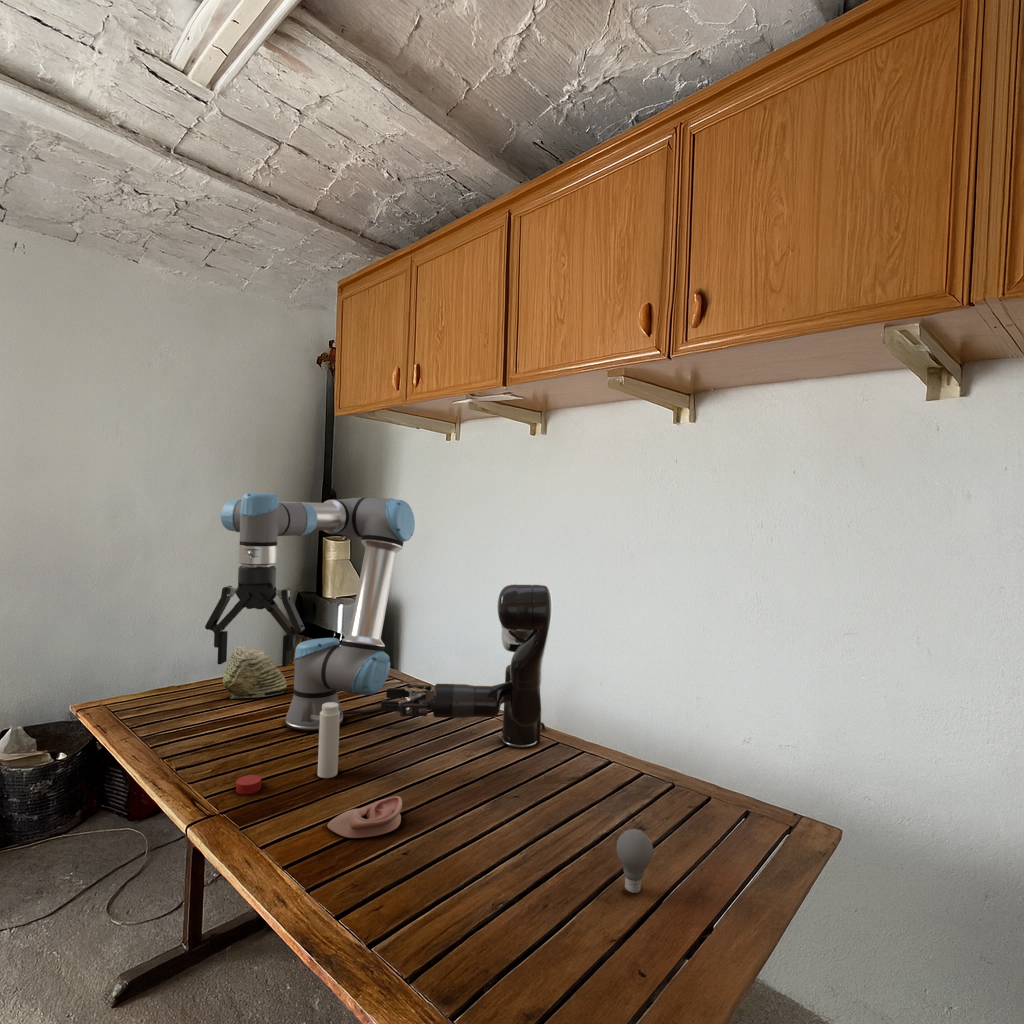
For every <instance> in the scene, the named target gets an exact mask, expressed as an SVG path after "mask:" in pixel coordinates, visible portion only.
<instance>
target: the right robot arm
mask: <svg viewBox="0 0 1024 1024" xmlns="http://www.w3.org/2000/svg"><path fill="white" fill-rule="evenodd" d="M553 609H554V608H553V596H552V591H551V589H550V588H549V587H548V586H547V585H544V584H517V583H516V584H508V585H505V586H504V587H503V588H502V589H501V591H500V592H499V594H498V597H497V615H498V621H499V623H500V625H501V644H502V646H503V649H505V651H507V652H510V653H513V655H512V657H511V660H510V663H509V664H508V665H507V666H506V667H505V671H504V682H501V683H498V684H494V685H472V684H465V683H436V684H435V685H434V690H432V685H431V684H429V685H427V684H425V685H424V684H407V685H406V686H403V687H388V688H387V689H386V699H403V700H382V701H381V703H380V707H381V710H380V711H381V712H398V714H399V716H400V717H428V712H429V711H433V712H432V716H433V717H434V718H442V719H443V718H445V719H446V718H447V719H465V718H466V719H467V718H468V719H469V718H495V717H497V716H498V715H499V713H500V711H501V706H502V704H503V716H502V717H503V719H502V723H503V724H502V727H501V730H500V731H501V734H502V737H501V743H503V744H504V745H506V746H507V747H511V748H515V749H527V748H531V747H534V746H537V744H540V743H541V730H543V731H545V730H546V725H545V723H544V722H543V721H542V697H541V686H542V680H543V679H542V678H543V664H544V663H543V662H544V655H545V652H546V648H547V644H548V640H549V637H550V636H549V635H550V630H551V626H552V619H553Z"/></svg>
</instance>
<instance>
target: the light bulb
mask: <svg viewBox="0 0 1024 1024" xmlns="http://www.w3.org/2000/svg"><path fill="white" fill-rule="evenodd" d="M615 849H616V854H617V857H618V859H619V861H620V863H621V865H622V867H623V873H624V874H623V875H624V876H625V878H624V888H625V890H627V891H628V892H630V893H634V894H635V893H639V892H640V891H641V889H642V887H641V886H642V879H643V877H644V875H645V871H646V868H647V867H648V866H649V864H650V863H651V861H652V859H653V855H654V847H653V843H652V841H651V838H649V836H648V835H647V834H646V833H645V832H643V831H642V830H641V829H636V828H629V829H627V830H625V831H623V832H622V833H621V834H620V835H619V837H618V839H617V841H616V847H615Z"/></svg>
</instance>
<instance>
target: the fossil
mask: <svg viewBox="0 0 1024 1024" xmlns="http://www.w3.org/2000/svg"><path fill="white" fill-rule="evenodd" d="M226 662H227V663H226V666H225V668H224V671H223V675H222V676H223V677H222V685H223V687H224V688H225V690H226V691H228V693H229V698H230V699H250V698H264V697H271V696H275V695H281V694H284V693H285V691H286V689H287V687H288V686H287V680H286V678H285V676H284V674H283V673H282V672H281V669H279V668H278V667H277V665H276V663H275V662H274V660H273V659H272V658H271V657H270V656H269V655H268V654H267V653H266V652H265V650H264V649H263V648H260V647H258V648H251V647H247V646H246V647H245V646H238V647H237V648H236V649H235V650H233V651H232V653H231V656H230V657H229V659H228V660H227V661H226Z"/></svg>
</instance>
